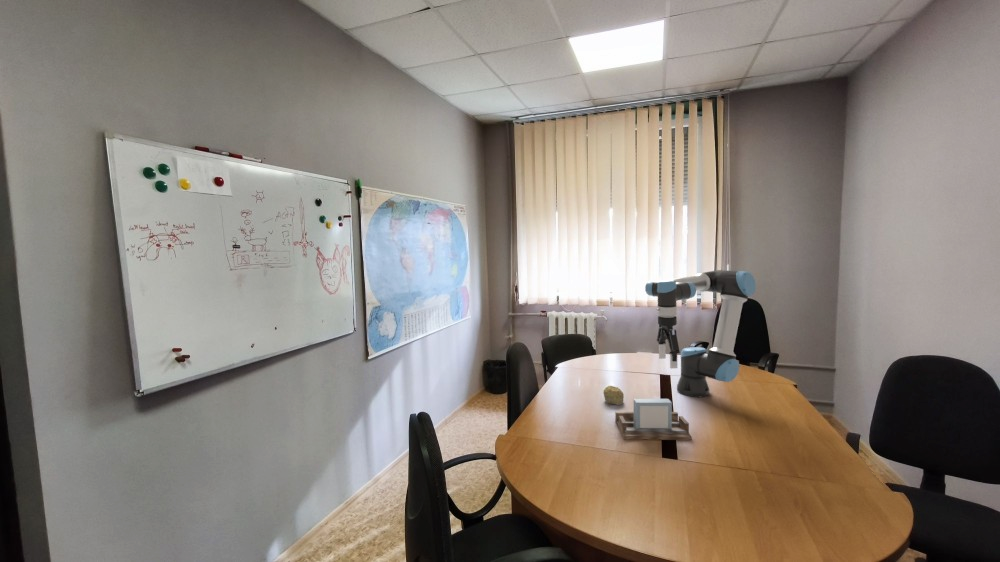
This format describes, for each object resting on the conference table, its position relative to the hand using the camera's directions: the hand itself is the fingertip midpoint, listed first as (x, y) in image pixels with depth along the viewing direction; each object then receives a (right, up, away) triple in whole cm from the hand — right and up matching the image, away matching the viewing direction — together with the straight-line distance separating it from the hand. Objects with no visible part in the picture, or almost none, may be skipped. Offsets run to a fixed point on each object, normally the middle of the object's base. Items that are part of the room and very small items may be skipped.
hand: (667, 363), depth 171 cm
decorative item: (-18, -24, +21) cm, 36 cm away
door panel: (-11, -25, -12) cm, 30 cm away
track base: (-11, -26, -10) cm, 30 cm away
